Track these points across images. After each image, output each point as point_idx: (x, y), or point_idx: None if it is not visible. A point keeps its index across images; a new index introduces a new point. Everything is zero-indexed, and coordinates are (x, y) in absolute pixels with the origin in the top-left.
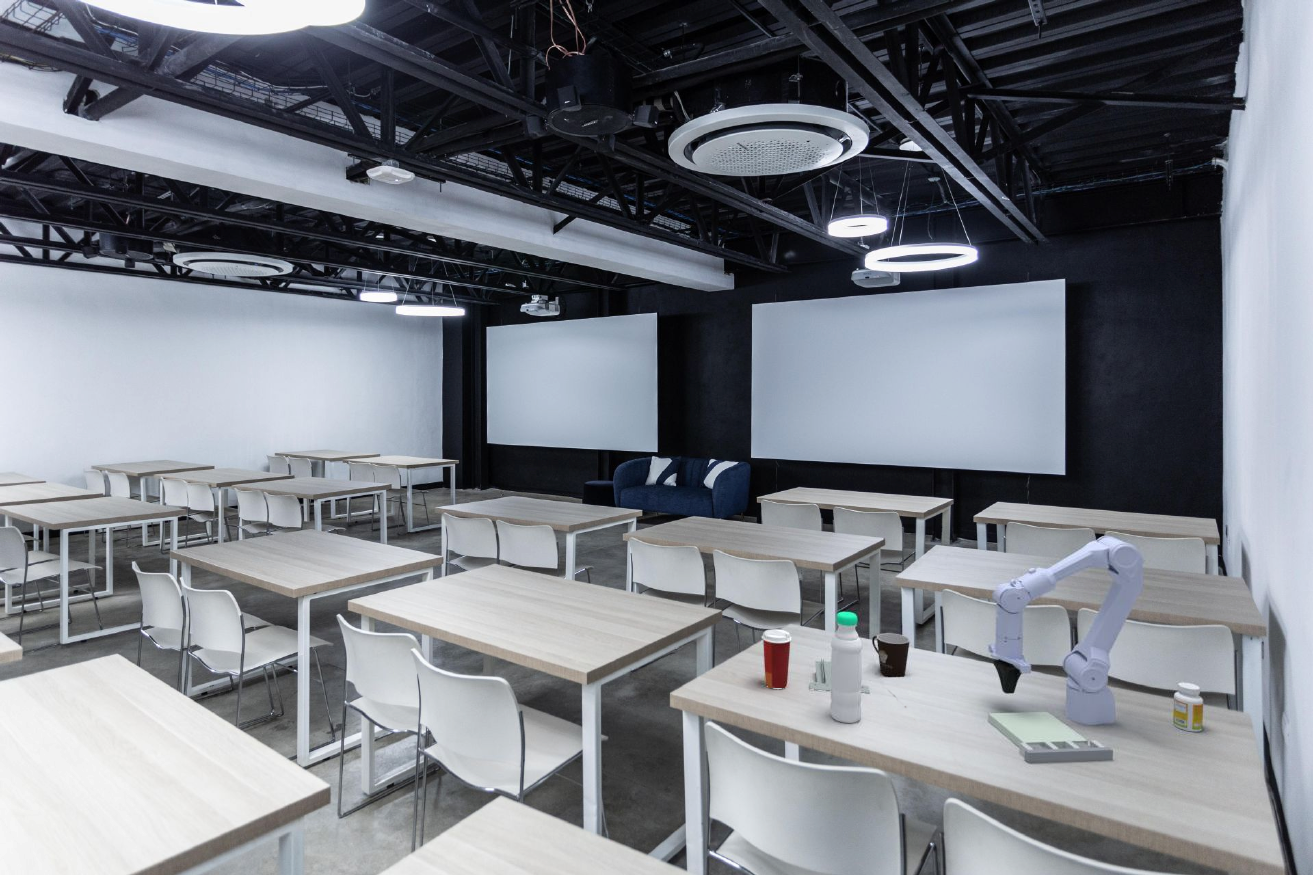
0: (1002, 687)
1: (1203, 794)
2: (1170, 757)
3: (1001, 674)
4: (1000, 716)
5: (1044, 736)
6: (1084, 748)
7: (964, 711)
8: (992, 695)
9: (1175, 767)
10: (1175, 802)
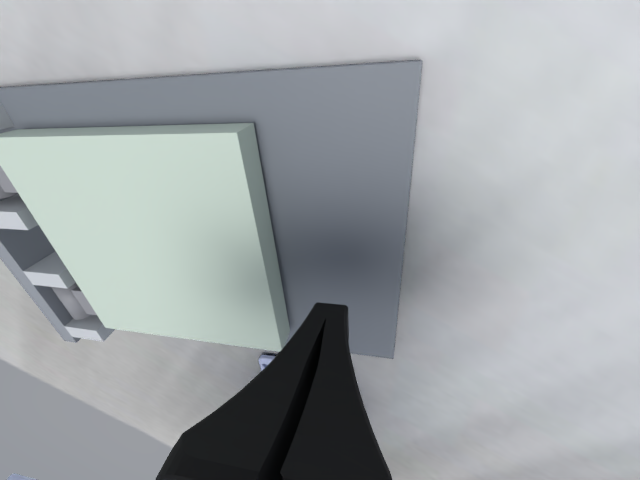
0: (332, 318)
1: (63, 362)
2: (180, 404)
3: (292, 390)
4: (210, 176)
5: (78, 239)
6: (35, 291)
7: (451, 80)
8: (577, 304)
9: (144, 388)
10: (9, 314)
